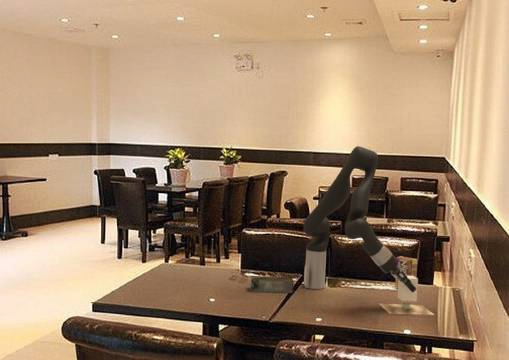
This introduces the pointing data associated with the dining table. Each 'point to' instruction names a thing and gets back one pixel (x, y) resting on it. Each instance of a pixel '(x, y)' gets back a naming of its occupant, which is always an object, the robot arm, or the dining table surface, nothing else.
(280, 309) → the dining table surface
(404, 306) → the grey rounded lump
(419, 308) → the board
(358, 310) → the dining table surface
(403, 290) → the white upright block
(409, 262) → the candy box
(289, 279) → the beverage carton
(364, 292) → the dining table surface
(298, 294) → the dining table surface
